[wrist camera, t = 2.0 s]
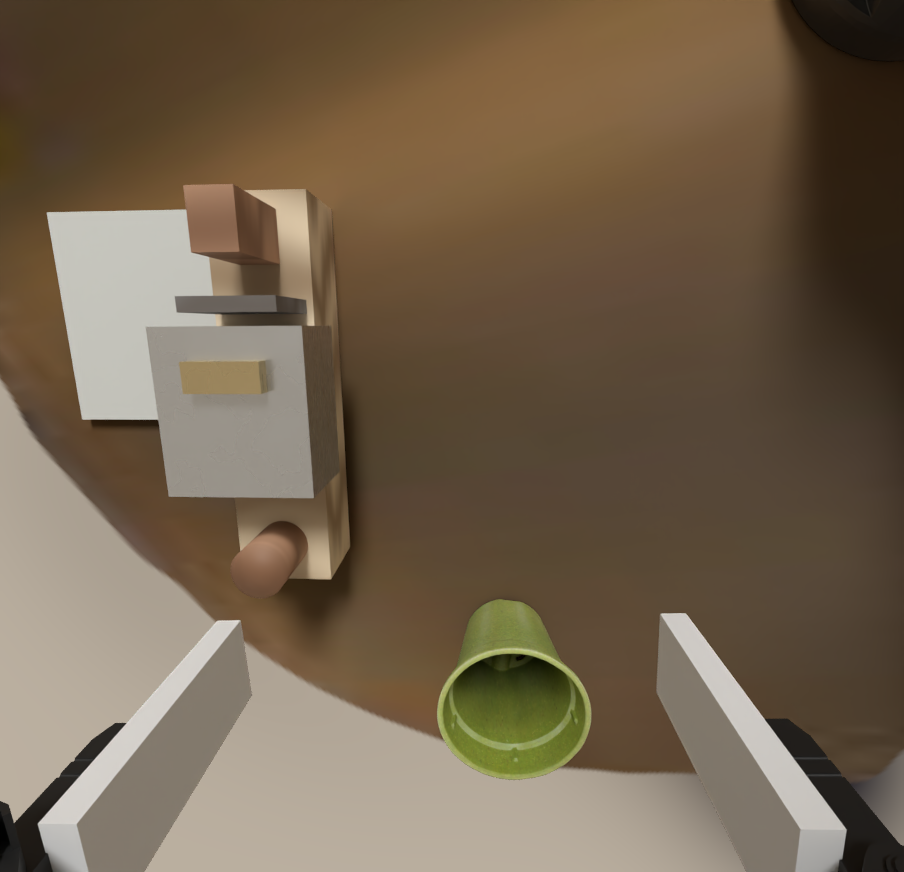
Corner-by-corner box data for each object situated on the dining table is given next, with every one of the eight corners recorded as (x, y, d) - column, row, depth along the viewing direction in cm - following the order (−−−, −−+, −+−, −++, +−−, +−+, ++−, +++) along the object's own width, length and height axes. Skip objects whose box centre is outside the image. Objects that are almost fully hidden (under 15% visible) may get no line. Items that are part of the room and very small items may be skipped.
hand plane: (243, 211, 33) (143, 162, 23) (331, 209, 33) (268, 159, 23) (273, 545, 38) (202, 620, 28) (350, 546, 38) (305, 623, 28)
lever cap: (200, 326, 30) (134, 326, 24) (331, 325, 29) (295, 325, 24) (216, 470, 32) (159, 501, 26) (339, 471, 31) (308, 503, 26)
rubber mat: (56, 215, 34) (46, 212, 33) (213, 212, 33) (207, 209, 32) (90, 417, 37) (82, 419, 36) (235, 417, 36) (229, 419, 35)
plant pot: (513, 553, 37) (523, 620, 29) (591, 639, 38) (622, 728, 30) (421, 623, 39) (405, 706, 30) (498, 704, 40) (504, 805, 32)
